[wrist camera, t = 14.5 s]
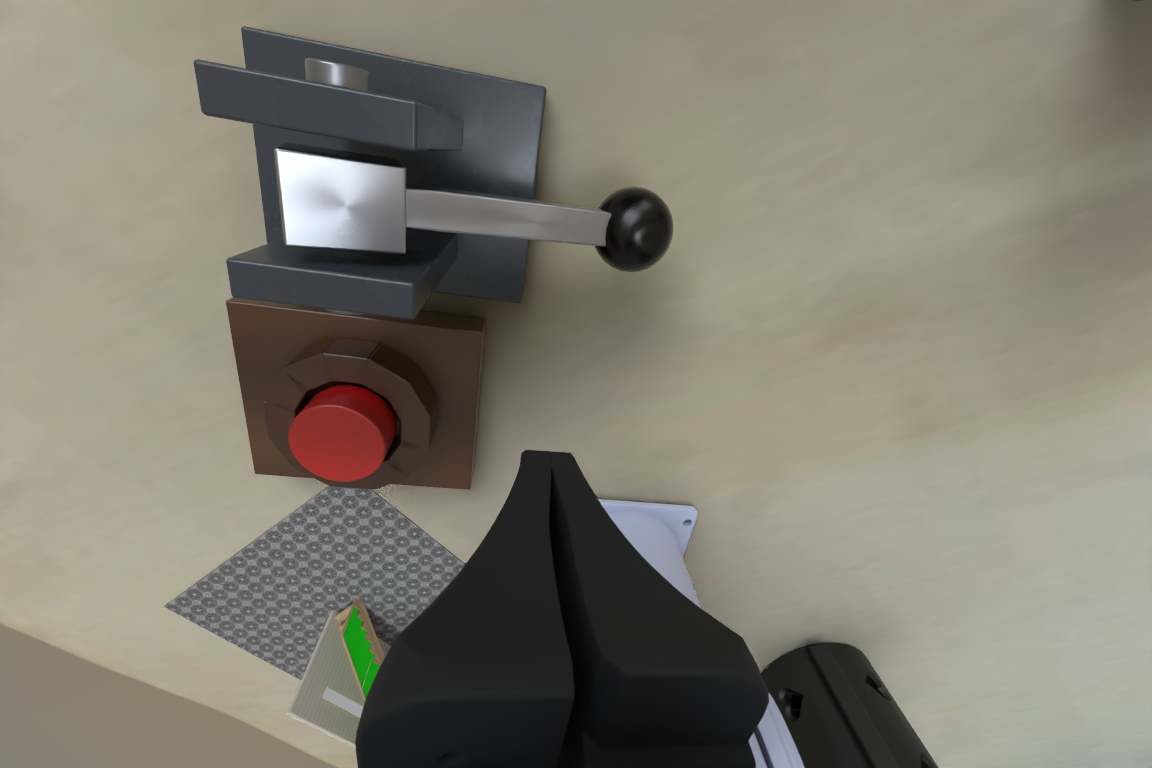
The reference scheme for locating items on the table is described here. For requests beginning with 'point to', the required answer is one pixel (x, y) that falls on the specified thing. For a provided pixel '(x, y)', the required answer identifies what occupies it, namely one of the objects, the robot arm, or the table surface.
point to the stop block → (363, 384)
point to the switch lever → (449, 210)
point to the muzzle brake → (842, 711)
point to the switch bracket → (389, 129)
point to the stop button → (343, 433)
